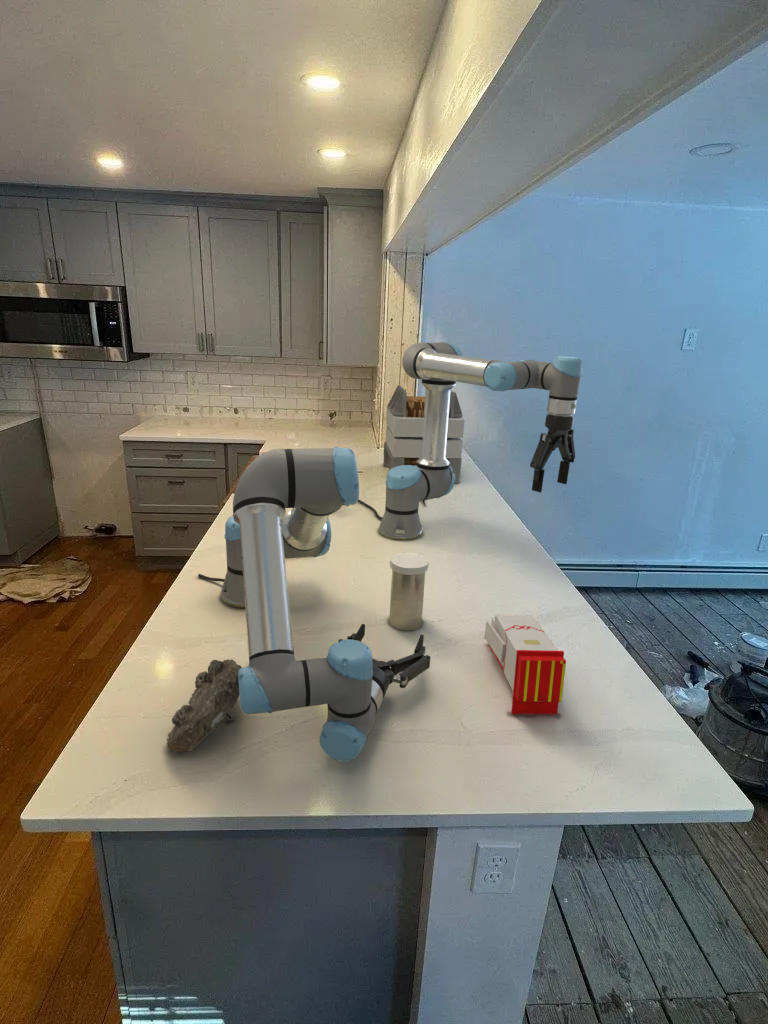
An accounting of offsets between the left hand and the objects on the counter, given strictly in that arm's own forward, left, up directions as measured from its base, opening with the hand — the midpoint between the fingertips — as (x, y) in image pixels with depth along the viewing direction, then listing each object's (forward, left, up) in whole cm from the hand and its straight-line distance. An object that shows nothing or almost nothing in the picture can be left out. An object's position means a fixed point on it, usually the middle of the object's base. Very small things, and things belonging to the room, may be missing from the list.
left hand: (392, 634), depth 128 cm
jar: (0, +16, -6) cm, 17 cm away
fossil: (-28, -30, -6) cm, 41 cm away
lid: (0, +16, +11) cm, 19 cm away
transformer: (-24, +153, -6) cm, 155 cm away
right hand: (+32, +57, +22) cm, 69 cm away
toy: (+28, +2, -6) cm, 29 cm away
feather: (-15, +119, -6) cm, 120 cm away
